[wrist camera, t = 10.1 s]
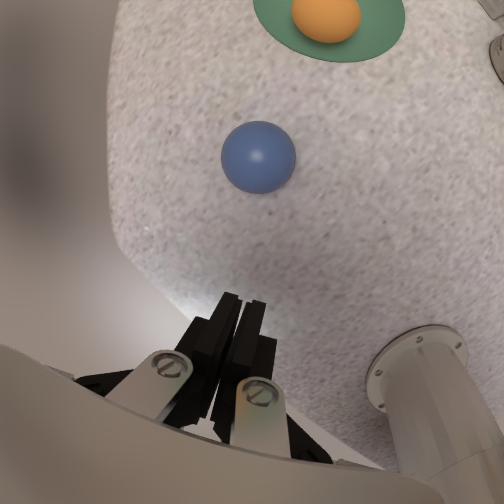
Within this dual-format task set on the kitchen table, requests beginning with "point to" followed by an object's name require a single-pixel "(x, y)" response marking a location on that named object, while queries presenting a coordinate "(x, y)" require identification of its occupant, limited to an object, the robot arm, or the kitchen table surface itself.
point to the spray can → (498, 55)
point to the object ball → (326, 19)
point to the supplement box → (493, 7)
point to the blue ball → (258, 157)
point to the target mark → (349, 50)
